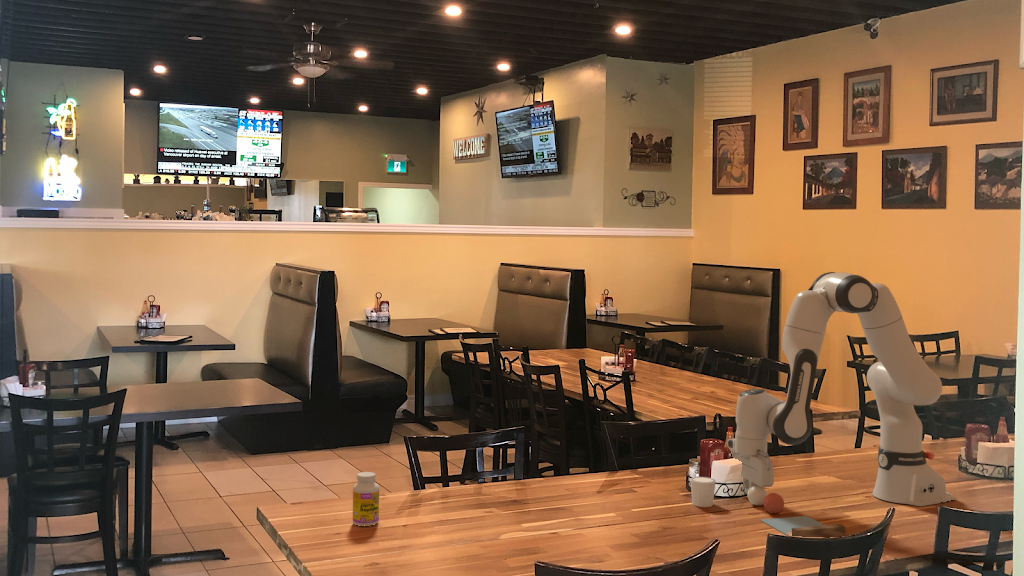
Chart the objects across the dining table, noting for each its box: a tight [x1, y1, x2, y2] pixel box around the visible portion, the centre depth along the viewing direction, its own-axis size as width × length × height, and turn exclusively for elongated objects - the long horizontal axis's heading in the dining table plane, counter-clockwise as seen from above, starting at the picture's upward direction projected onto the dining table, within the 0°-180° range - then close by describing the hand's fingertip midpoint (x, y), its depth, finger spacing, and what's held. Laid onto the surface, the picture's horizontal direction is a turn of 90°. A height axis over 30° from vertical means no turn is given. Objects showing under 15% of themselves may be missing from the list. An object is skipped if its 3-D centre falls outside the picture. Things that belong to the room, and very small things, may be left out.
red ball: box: [762, 492, 785, 514], centre depth 246 cm, size 5×5×5 cm
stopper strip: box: [792, 523, 846, 538], centre depth 227 cm, size 14×2×2 cm, turn 106°
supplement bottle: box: [352, 471, 380, 526], centre depth 233 cm, size 7×7×13 cm
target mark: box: [760, 515, 825, 536], centre depth 235 cm, size 14×14×1 cm
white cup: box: [690, 476, 717, 508], centre depth 254 cm, size 7×7×7 cm
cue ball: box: [746, 485, 768, 506], centre depth 254 cm, size 5×5×5 cm
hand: (749, 494), depth 259 cm, fingers closed
